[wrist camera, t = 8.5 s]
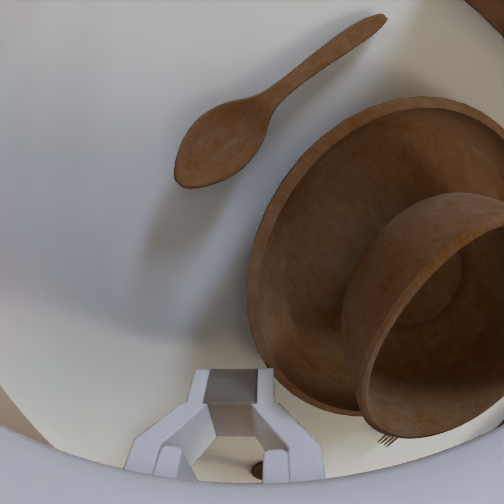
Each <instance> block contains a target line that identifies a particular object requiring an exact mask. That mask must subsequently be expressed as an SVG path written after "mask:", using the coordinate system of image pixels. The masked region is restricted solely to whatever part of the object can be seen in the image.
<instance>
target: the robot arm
mask: <svg viewBox="0 0 504 504" xmlns="http://www.w3.org/2000/svg"><path fill="white" fill-rule="evenodd" d="M217 436H256V438H257V439H258V441H259V442H260V444H261V445H262V447H263V448H264V449H265V451H266V452H265V453H264V454H263V479H262V483H221V482H206V481H198V480H197V478H196V476H195V474H194V472H193V471H192V469H191V466H192V465H193V464H194V463H195V462H196V461H197V459H198V458H199V457H200V456H201V455H202V454H203V453H204V452H205V451H206V449H207V448H208V447H209V446H210V445H211V444H212V443H213V441H214V440H215V439H216V438H217ZM0 504H504V425H502V426H500V427H498V428H496V429H494V430H492V431H490V432H488V433H485V434H483V435H481V436H479V437H477V438H474V439H472V440H470V441H467V442H465V443H462V444H460V445H457V446H455V447H452V448H449V449H447V450H444V451H441V452H438V453H435V454H432V455H429V456H426V457H423V458H420V459H417V460H413V461H410V462H406V463H403V464H399V465H395V466H391V467H387V468H383V469H378V470H374V471H369V472H364V473H359V474H354V475H348V476H341V477H335V478H327V479H326V478H325V471H324V463H323V456H322V449H321V445H320V444H319V443H318V442H317V441H316V440H315V439H314V438H313V437H312V436H311V435H310V434H309V433H308V432H307V431H306V430H305V429H304V428H303V427H302V426H301V425H300V424H299V423H298V422H297V421H296V420H295V419H294V418H293V417H292V416H291V415H290V414H289V413H288V412H287V411H286V410H285V409H284V408H283V406H282V405H281V404H280V403H275V386H274V369H273V368H258V369H196V370H195V372H194V375H193V379H192V382H191V386H190V390H189V393H188V397H187V401H186V403H183V402H182V403H181V404H179V405H178V406H177V407H176V408H174V409H173V410H172V411H171V412H169V413H168V414H167V415H165V416H164V417H163V418H162V419H160V420H159V421H158V422H156V423H155V424H154V425H153V426H151V427H150V428H149V429H147V430H146V431H145V432H143V433H142V434H141V435H139V436H138V437H137V438H135V439H134V441H133V444H132V446H131V449H130V452H129V454H128V457H127V460H126V462H125V465H124V468H123V469H121V468H117V467H113V466H109V465H105V464H102V463H98V462H94V461H91V460H88V459H84V458H81V457H78V456H75V455H72V454H69V453H66V452H63V451H60V450H58V449H55V448H52V447H49V446H47V445H45V444H42V443H40V442H37V441H35V440H32V439H30V438H28V437H26V436H23V435H21V434H19V433H17V432H15V431H13V430H11V429H9V428H7V427H4V426H3V425H1V424H0Z"/></svg>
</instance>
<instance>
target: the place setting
mask: <svg viewBox="0 0 504 504" xmlns="http://www.w3.org/2000/svg"><path fill="white" fill-rule="evenodd" d="M386 21H387V18H386V16H385V15H384V14H377V15H373V16H371V17H368V18H365V19H363V20H361V21H359V22H357V23H355V24H354V25H352V26H351V27H349V28H347V29H346V30H344V31H343V32H342V33H340V34H339V35H337V36H336V37H334V38H333V39H332V40H330V41H329V42H328V43H326V44H325V45H324V46H322V47H321V48H320V49H319V50H317V51H316V52H315V53H314V54H312V55H311V56H310V57H308V58H307V59H306V60H305V61H303V62H302V63H301V64H300V65H298V66H297V67H296V68H295V69H293V70H292V71H291V72H290V73H288V74H287V75H286V76H285V77H283V78H282V79H281V80H279V81H278V82H277V83H275V84H274V85H273V86H271V87H270V88H268V89H267V90H265V91H263V92H261V93H260V94H257V95H255V96H252V97H249V98H244V99H238V100H234V101H230V102H227V103H224V104H222V105H219V106H217V107H215V108H213V109H211V110H209V111H208V112H207V113H205V114H204V115H202V116H201V117H200V118H199V119H198V120H197V121H195V122H194V124H193V125H192V126H191V127H190V129H189V130H188V132H187V133H186V135H185V137H184V138H183V141H182V143H181V145H180V147H179V150H178V153H177V157H176V161H175V167H174V178H175V180H176V182H177V183H178V184H179V185H180V186H181V187H183V188H187V189H192V188H201V187H205V186H209V185H212V184H216V183H218V182H221V181H223V180H225V179H227V178H229V177H231V176H233V175H234V174H236V173H237V172H239V171H240V170H242V169H243V168H244V167H245V166H246V165H247V164H248V163H249V162H250V160H251V159H252V158H253V157H254V155H255V154H256V152H257V151H258V149H259V148H260V146H261V144H262V142H263V140H264V137H265V135H266V132H267V129H268V125H269V122H270V119H271V116H272V114H273V112H274V111H275V109H276V108H277V107H278V105H279V104H280V103H281V102H282V101H283V100H284V99H285V98H286V97H287V96H288V95H289V94H291V93H292V92H293V91H294V90H295V89H297V88H298V87H299V86H300V85H302V84H303V83H304V82H306V81H307V80H308V79H310V78H311V77H312V76H314V75H315V74H317V73H318V72H319V71H321V70H322V69H324V68H325V67H327V66H328V65H330V64H331V63H333V62H334V61H336V60H337V59H339V58H340V57H342V56H343V55H345V54H346V53H348V52H349V51H351V50H352V49H354V48H355V47H357V46H358V45H360V44H361V43H363V42H364V41H365V40H367V39H368V38H370V37H371V36H372V35H373V34H375V33H376V32H377V31H378V30H379V29H380V28H381V27H382V26H383V25H384V24H385V22H386ZM246 290H247V313H248V318H249V323H250V328H251V333H252V336H253V339H254V342H255V344H256V347H257V350H258V352H259V354H260V356H261V358H262V359H263V361H264V363H265V364H266V366H267V368H273V369H274V377H275V378H276V379H277V380H278V381H279V383H280V384H282V385H283V386H284V387H285V388H286V389H287V390H288V391H290V392H291V393H292V394H293V395H295V396H297V397H298V398H300V399H301V400H303V401H304V402H306V403H308V404H311V405H313V406H315V407H317V408H320V409H322V410H326V411H329V412H333V413H336V414H342V415H348V416H363V417H364V419H365V421H366V422H367V423H368V424H369V425H370V426H371V427H372V428H373V429H375V430H377V431H378V432H380V433H382V434H385V435H384V436H383V437H382V438H381V439H380V440H382V439H383V438H384V437H386V436H387V435H388V437H386V438H385V439H384V440H383V441H382V442H381V443H383V442H384V441H386V440H387V439H388V438H389V437H391V436H392V437H391V438H390V439H389V440H388V441H387V442H386V443H385V444H387V443H388V442H389V441H391V440H392V439H393V438H394V437H396V438H394V439H393V440H392V441H391V442H390V443H389V444H388V445H387V446H389V445H390V444H391V443H393V442H394V441H395V440H396V439H398V438H410V439H411V438H423V437H428V436H433V435H437V434H440V433H444V432H446V431H449V430H452V429H454V428H456V427H459V426H461V425H463V424H465V423H467V422H468V421H470V420H472V419H474V418H475V417H477V416H479V415H480V414H482V413H483V412H484V411H486V410H487V409H489V408H490V407H491V406H493V405H494V404H495V403H496V402H498V401H499V400H500V399H501V398H502V397H503V396H504V129H503V128H502V127H501V126H500V125H499V124H498V123H496V122H495V121H494V120H492V119H491V118H490V117H488V116H487V115H485V114H484V113H482V112H481V111H479V110H477V109H475V108H472V107H470V106H468V105H466V104H464V103H460V102H457V101H453V100H449V99H445V98H438V97H423V96H419V97H410V98H402V99H396V100H392V101H389V102H386V103H382V104H379V105H376V106H373V107H370V108H368V109H366V110H364V111H362V112H360V113H358V114H356V115H354V116H352V117H350V118H348V119H346V120H344V121H343V122H341V123H340V124H338V125H337V126H336V127H334V128H333V129H331V130H330V131H329V132H327V133H326V134H324V135H323V136H322V137H321V138H320V139H318V140H317V141H316V142H315V143H314V144H313V145H312V146H311V147H310V148H309V149H308V150H307V151H306V152H305V153H304V154H303V155H302V156H301V157H300V158H299V160H298V161H297V162H296V163H295V165H294V166H293V167H292V169H291V170H290V171H289V173H288V174H287V175H286V176H285V178H284V179H283V180H282V182H281V184H280V185H279V187H278V189H277V191H276V192H275V194H274V196H273V198H272V199H271V201H270V203H269V205H268V206H267V209H266V211H265V214H264V216H263V219H262V221H261V224H260V226H259V228H258V231H257V234H256V238H255V241H254V245H253V249H252V253H251V257H250V261H249V270H248V279H247V289H246ZM380 440H379V441H380ZM379 441H378V442H379ZM385 444H384V445H385ZM387 446H386V447H387ZM251 473H252V475H253V476H254V477H256V478H258V479H261V480H262V479H263V463H259V464H257V465H255V466H254V467H253V468H252V470H251Z"/></svg>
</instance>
